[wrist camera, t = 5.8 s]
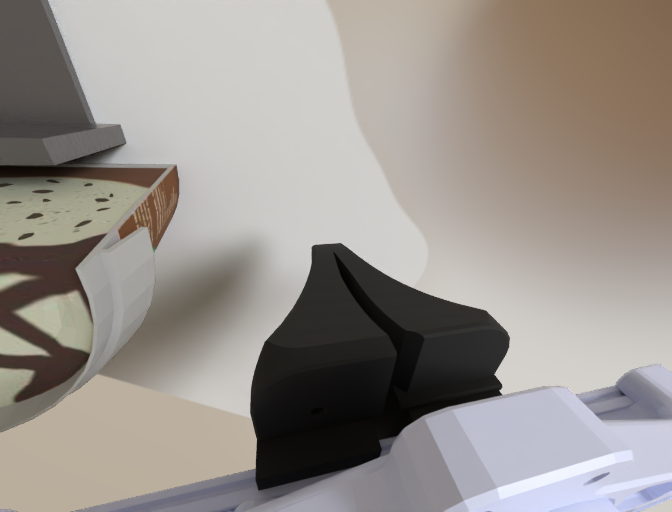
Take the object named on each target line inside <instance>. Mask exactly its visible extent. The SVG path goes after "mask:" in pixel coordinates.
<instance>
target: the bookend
mask: <svg viewBox="0 0 672 512" xmlns="http://www.w3.org/2000/svg"><path fill="white" fill-rule="evenodd" d="M124 143H126V140H125V137H124V134H123V132H122V129H121V126H120V125H117V124H95V121H94V119H93V116H92V114H91V111H90V108H89V106H88V103H87V101H86V98H85V95H84V93H83V90H82V88H81V85H80V83H79V80H78V77H77V75H76V72H75V70H74V67H73V65H72V62H71V59H70V57H69V54H68V52H67V49H66V47H65V44H64V41H63V39H62V36H61V34H60V31H59V28H58V26H57V23H56V21H55V18H54V16H53V13H52V10H51V8H50V5H49V3H48V0H0V165H57V164H60V163H63V162H67V161H70V160H73V159H76V158H79V157H83V156H86V155H89V154H92V153H96V152H99V151H102V150H105V149H108V148H112V147H115V146H118V145H121V144H124Z"/></svg>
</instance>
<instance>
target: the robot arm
mask: <svg viewBox="0 0 672 512" xmlns="http://www.w3.org/2000/svg"><path fill="white" fill-rule="evenodd" d="M509 340H510V337H509V335H508V333H507V331H506V330H505V329H504V328H503V327H502V326H501V325H500V324H499V323H498V322H497V321H496V320H495V319H494V318H493V317H492V316H491V315H490V314H488V312H487V311H485V310H481V309H477V308H473V307H469V306H465V305H460V304H457V303H453V302H450V301H447V300H444V299H440V298H437V297H434V296H431V295H429V294H426V293H423V292H421V291H418V290H416V289H414V288H411V287H409V286H407V285H405V284H402V283H400V282H399V281H397V280H395V279H393V278H391V277H389V276H387V275H385V274H384V273H382V272H381V271H379V270H377V269H376V268H374V267H373V266H371V265H370V264H368V263H367V262H365V261H364V260H363V259H361V258H360V257H359V256H357V255H356V254H355V253H353V252H352V251H351V250H349V249H348V248H347V247H346V246H344V245H343V244H341V243H337V244H322V245H314V246H313V247H312V265H311V270H310V273H309V276H308V279H307V282H306V284H305V286H304V289H303V291H302V293H301V295H300V297H299V298H298V300H297V302H296V304H295V305H294V307H293V309H292V310H291V311H290V313H289V314H288V315H287V317H286V318H285V320H284V321H283V322H282V324H281V325H280V326H279V327H278V328H277V329H276V330H275V331H274V333H273V334H272V335H271V336H270V337H269V338H268V339H267V340H266V341H265V343H264V345H263V348H262V351H261V353H260V356H259V359H258V362H257V365H256V368H255V372H254V376H253V381H252V386H251V403H250V413H251V417H252V421H253V426H254V430H255V434H256V437H257V452H256V469H253V470H248V471H244V472H240V473H235V474H232V475H227V476H223V477H218V478H214V479H210V480H205V481H201V482H197V483H192V484H188V485H184V486H180V487H175V488H171V489H167V490H163V491H158V492H154V493H149V494H145V495H141V496H136V497H132V498H128V499H123V500H120V501H115V502H111V503H107V504H102V505H98V506H93V507H89V508H85V509H81V510H76V511H72V512H640V511H643V510H645V509H648V508H650V507H653V506H655V505H658V504H660V503H663V502H665V501H668V500H670V499H672V372H671V371H670V370H668V369H667V368H665V367H664V366H662V365H661V364H654V365H649V366H645V367H640V368H636V369H633V370H630V371H629V372H627V373H625V374H624V375H623V376H622V377H621V378H620V379H619V380H618V381H617V382H616V385H615V386H611V387H606V388H602V389H598V390H593V391H589V392H585V393H581V394H576V395H575V394H573V392H571V391H570V390H569V389H568V388H567V387H562V386H543V387H538V388H534V389H529V390H525V391H520V392H515V393H511V394H506V395H502V394H501V393H500V391H499V390H501V388H502V384H501V383H500V381H499V380H498V379H497V378H496V376H495V375H494V374H495V372H496V370H497V369H498V367H499V365H500V364H501V362H502V360H503V359H504V357H505V355H506V353H507V351H508V348H509ZM0 512H17V511H14V510H10V509H0Z"/></svg>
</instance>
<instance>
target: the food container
mask: <svg viewBox="0 0 672 512" xmlns="http://www.w3.org/2000/svg"><path fill="white" fill-rule="evenodd" d="M178 197H179V177H178V172H177V166H176V165H171V164H99V163H60V164H57V165H0V432H3V431H6V430H8V429H10V428H13V427H15V426H18V425H20V424H23V423H25V422H27V421H30V420H32V419H34V418H35V417H37V416H39V415H41V414H42V413H44V412H46V411H47V410H49V409H51V408H53V407H54V406H56V405H57V404H58V403H59V402H60V401H62V400H63V399H64V398H65V397H66V396H67V395H69V394H71V393H73V392H74V391H76V390H78V389H79V388H81V387H82V386H83V385H84V384H85V383H87V382H88V381H89V380H90V379H91V378H92V377H94V376H95V375H96V374H97V373H98V372H99V371H100V370H101V369H102V368H103V367H104V366H105V365H106V364H107V363H108V362H109V361H110V360H111V359H112V358H113V357H114V356H115V355H116V354H117V353H118V351H119V350H120V349H121V348H122V347H123V346H124V345H125V344H126V343H127V342H128V341H129V340H130V339H131V337H132V336H133V335H134V333H135V332H136V331H137V329H138V328H139V327H140V326H141V324H142V323H143V321H144V318H145V316H146V314H147V312H148V309H149V307H150V305H151V302H152V297H153V291H154V286H155V262H154V252H155V250H156V248H157V246H158V244H159V242H160V240H161V238H162V236H163V235H164V233H165V231H166V229H167V227H168V225H169V223H170V221H171V219H172V217H173V215H174V212H175V210H176V207H177V203H178Z"/></svg>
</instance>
